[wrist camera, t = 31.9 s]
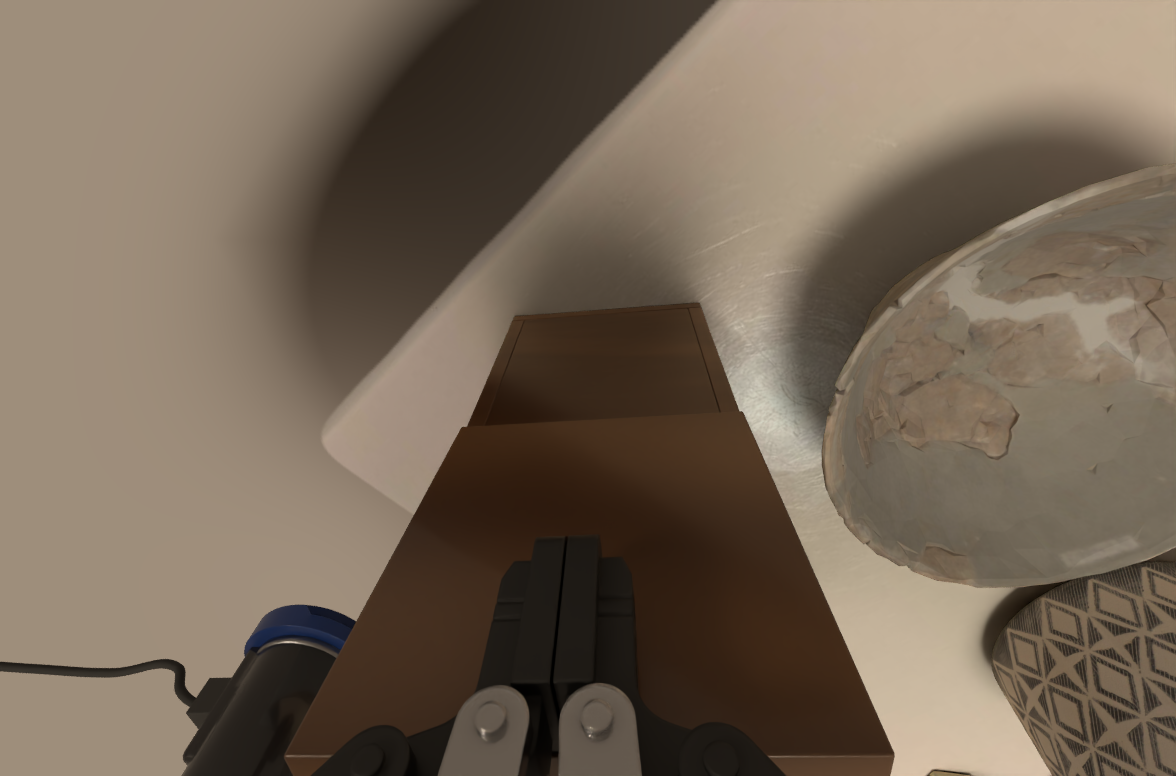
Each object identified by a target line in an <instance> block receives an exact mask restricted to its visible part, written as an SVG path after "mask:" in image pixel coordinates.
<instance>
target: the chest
mask: <svg viewBox="0 0 1176 776" xmlns="http://www.w3.org/2000/svg"><path fill="white" fill-rule="evenodd" d="M722 412H740V411H739V409H738V406H737V403H736V401H735V398H734V395H733V392H732V390H731V387H730V384H729V382H728V379H727V376H726V373H725V371H724V368H723V365H722V363H721V360H720V357H719V355H718V352H717V349H716V346H715V344H714V341H713V338H712V336H711V333H710V330H709V327H708V325H707V322H706V319H705V317H704V314H703V311H702V308H701V306H700V303H687V304H673V305H660V306H646V307H633V308H619V309H606V310H592V311H579V312H565V313H552V314H538V315H525V316H515V317H514V318H513V321H512V323H511V325H510V328H509V330H508V332H507V335H506V337H505V339H504V342H503V344H502V346H501V349H500V351H499V353H498V356H497V358H496V360H495V363H494V365H493V367H492V370H491V372H490V374H489V377H488V379H487V381H486V384H485V386H484V388H483V391H482V393H481V395H480V398H479V400H478V402H477V405H476V407H475V409H474V412H473V414H472V416H471V419H470V421H469V423H468V426H467V427H475V426H492V425H510V424H528V423H545V422H563V421H581V420H598V419H616V418H634V417H651V416H669V415H687V414H704V413H722Z"/></svg>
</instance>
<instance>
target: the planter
mask: <svg viewBox="0 0 1176 776" xmlns="http://www.w3.org/2000/svg"><path fill="white" fill-rule="evenodd" d="M992 670H993V674H994V677H995V679H996V681H997V683H998V685H999V686H1000V688H1001V690H1002V691H1003V693H1004V695H1005V696H1006V698H1007V700H1008V702H1009V703H1010V705H1011V707H1012V708H1013V710H1014V712H1015V713H1016V715H1017V717H1018V718H1019V720H1020V722H1021V723H1022V725H1023V727H1024V728H1025V730H1026V732H1027V734H1028V735H1029V737H1030V739H1031V740H1032V742H1033V744H1034V745H1035V747H1036V749H1037V750H1038V752H1039V754H1040V755H1041V757H1042V759H1043V760H1044V762H1045V764H1046V766H1047V767H1048V769H1049V771H1050V772H1051V774H1052V776H1176V562H1145V563H1136V564H1132V565H1129V566H1125V567H1122V568H1119V569H1115V570H1112V571H1109V572H1106V573H1102V574H1096V575H1090V576H1084V577H1080V578H1076V579H1074V580H1071V581H1069V582H1067V583H1064V584H1062V585H1060V586H1058V587H1056V588H1054V589H1052V590H1050V591H1048V592H1046V593H1045V594H1043V595H1041V596H1040V597H1038V598H1037V599H1035V600H1034V601H1032V602H1031V603H1029V604H1028V605H1027V606H1025V607H1024V608H1023V609H1022V610H1020V611H1019V612H1018V613H1017V614H1016V615H1015V616H1014V617H1013V618H1012V619H1011V620H1010V621H1009V622H1008V623H1007V624H1006V626H1005V627H1004V628H1003V630H1002V631H1001V633H1000V634H999V636H998V638H997V640H996V642H995V645H994V648H993V652H992Z"/></svg>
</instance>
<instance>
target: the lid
mask: <svg viewBox="0 0 1176 776" xmlns="http://www.w3.org/2000/svg"><path fill="white" fill-rule="evenodd" d="M591 534H599V535H600V540H601V548H602V556H603V557H623V559H624V561H625V562H626V564H627V566H628V568H629V570H630V571H631V573H632V580H633V592H634V603H635V614H636V636H637V661H638V686H639V695H640V697H641V699H642V701H643V702H644V704H645V705H646V706H647V707H648V708H649V710H650V711H652V712H653V713H654V714H655V715H657V716H658V717H660V718H661V719H663V720H666V721H668V722H670V723H673V724H676V725H679V726H682V727H685V728H688V729H691V730H693V729H694V728H695V727H697V726H699V725H701V724H704V723H708V722H722V723H726V724H730V725H732V726H734V727H736V728H738V729H739V730H741V731H742V732H744V733H745V734H746V735H747V736H748V737H749V738H750V739H751V740H752V741H753V742H754V743H755V744H756V745H757V746H758V747H759V748H760V749H761V750H762V751H763V752H764V753H765V754H766V755H767V756H768V757H769V758H770V759H771V760H772V761H773V762H774V763H775V764H776V765H777V766H778V767H779V768H780V769H781V771H782V772H783V773H784V774H785V775H786V776H890V774H891V770H892V765H893V761H894V752H893V749H892V747H891V745H890V742H889V740H888V738H887V736H886V733H885V731H884V729H883V727H882V724H881V722H880V720H879V718H878V715H877V713H876V711H875V709H874V706H873V704H872V702H871V700H870V697H869V695H868V693H867V691H866V688H865V686H864V684H863V682H862V679H861V677H860V675H859V673H858V670H857V668H856V666H855V664H854V661H853V659H852V657H851V655H850V652H849V650H848V648H847V645H846V643H845V641H844V639H843V636H842V634H841V632H840V630H839V627H838V625H837V623H836V621H835V618H834V616H833V614H832V612H831V609H830V607H829V605H828V603H827V600H826V598H825V596H824V594H823V591H822V589H821V587H820V585H819V582H818V580H817V578H816V576H815V573H814V571H813V569H812V567H811V564H810V562H809V560H808V557H807V555H806V553H805V551H804V548H803V546H802V544H801V542H800V539H799V537H798V535H797V533H796V530H795V528H794V526H793V524H792V521H791V519H790V517H789V515H788V512H787V510H786V508H785V506H784V503H783V501H782V499H781V497H780V494H779V492H778V490H777V488H776V485H775V483H774V481H773V479H772V476H771V474H770V472H769V469H768V467H767V465H766V463H765V460H764V458H763V456H762V454H761V451H760V449H759V447H758V445H757V442H756V440H755V438H754V436H753V433H752V431H751V429H750V427H749V424H748V422H747V420H746V418H745V415H744V413H743V412H742V411H740V412H722V413H704V414H687V415H669V416H651V417H634V418H616V419H598V420H581V421H563V422H545V423H528V424H510V425H492V426H475V427H462V428H461V429H460V431H459V433H458V435H457V437H456V438H455V440H454V442H453V444H452V446H451V448H450V450H449V451H448V453H447V455H446V457H445V459H444V461H443V462H442V464H441V466H440V468H439V470H438V472H437V474H436V475H435V477H434V479H433V481H432V483H431V485H430V486H429V488H428V490H427V492H426V494H425V496H424V498H423V499H422V501H421V503H420V505H419V507H418V509H417V511H416V512H415V514H414V516H413V518H412V520H411V522H410V523H409V525H408V527H407V529H406V531H405V533H404V535H403V536H402V538H401V540H400V542H399V544H398V546H397V548H396V549H395V551H394V553H393V555H392V557H391V559H390V560H389V562H388V564H387V566H386V568H385V570H384V572H383V574H382V575H381V577H380V579H379V581H378V583H377V584H376V586H375V588H374V590H373V592H372V594H371V595H370V597H369V599H368V601H367V603H366V605H365V607H364V608H363V610H362V612H361V614H360V616H359V618H358V619H357V621H356V623H355V625H354V627H353V629H352V631H351V632H350V634H349V636H348V638H347V640H346V642H345V644H344V645H343V647H342V649H341V651H340V653H339V655H338V656H337V658H336V660H335V662H334V664H333V666H332V668H331V669H330V671H329V673H328V675H327V677H326V679H325V680H324V682H323V684H322V686H321V688H320V690H319V692H318V693H317V695H316V697H315V699H314V701H313V703H312V704H311V706H310V708H309V710H308V712H307V714H306V716H305V717H304V719H303V721H302V723H301V725H300V727H299V728H298V730H297V732H296V734H295V736H294V738H293V740H292V741H291V743H290V745H289V747H288V749H287V751H286V752H285V755H284V759H285V761H286V763H287V765H288V767H289V768H290V770H291V772H292V774H293V776H311V775H312V774H313V773H314V772H315V771H316V770H317V769H318V768H319V767H320V766H322V765H323V764H324V763H325V762H326V761H327V760H328V759H329V758H330V757H332V756H333V755H334V754H335V753H336V752H337V751H338V750H339V749H340V748H341V747H343V746H344V745H345V744H346V743H347V742H348V741H349V740H350V739H352V738H353V737H354V736H355V735H357V734H358V733H360V732H361V731H363V730H365V729H368V728H370V727H373V726H377V725H390V726H394V727H396V728H398V729H400V730H401V731H402V732H403V733H404V735H405V736H406V737H408V736H411V735H414V734H416V733H419V732H422V731H425V730H428V729H430V728H433V727H436V726H438V725H441V724H443V723H445V722H447V721H449V720H450V719H452V718H453V717H454V716H456V715H457V714H458V712H459V710H460V709H461V707H462V706H463V704H464V703H465V702H466V701H467V700H468V699H469V698H470V697H471V696H472V695H473V694H474V692H475V690H476V687H477V684H478V680H479V676H480V671H481V667H482V662H483V658H484V653H485V649H486V645H487V640H488V636H489V631H490V627H491V623H492V621H493V614H494V609H495V605H496V604H497V596H498V592H499V587H500V583H501V579H502V578H503V576H504V575H505V573H506V572H507V570H508V569H509V568H510V566H511V565H512V563H513V562H514V561H528V560H531V558H532V553H533V547H534V542H535V539H536V537H550V536H567V537H568V536H569V535H591ZM558 763H559V753H552V756H551V767H550V776H558Z"/></svg>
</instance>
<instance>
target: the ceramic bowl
mask: <svg viewBox="0 0 1176 776" xmlns="http://www.w3.org/2000/svg"><path fill="white" fill-rule="evenodd" d="M835 386H836V387H837V390H836V392H835V395H834V397H833V400H832V402H831V404H830V407H829V413H828V415H827V422H826V429H825V433H824V439H823V446H822V468H823V474H824V480H825V486H826V489H827V491H828V493H829V496H830V499H831V500H832V502H833V504H834V506H835V508H836V510H837V512H838V515H839V516H841V517H842V518H843V519H844V523H845V525H846V526H847V528H848V529H849V530H850V531H851V532H852V533H853V534H854V535H855V536H856V537H857V538H858V539H859V540H860V541H861V542H862V543H863V544H865V543H866V544H867V545H868V546H869V547H870V548H871V549H872V550H873V551H874V552H875V553H876V554H878V555H880V556H882V557H885V558H887V559H889V560H890V561H892V562H894V563H895V564H897V565H899V566H905V565H907V566H908V568H910V569H911V570H912V571H913V572H916V573H918V574H921V575H923V576H926V577H929V578H931V579H934V580H937V581H944V582H953V583H959V584H964V585H969V586H973V587H976V588H997V587H1027V586H1032V585H1043V584H1051V583H1056V582H1062V581H1067V580H1072V579H1076V578H1080V577H1084V576H1090V575H1096V574H1102V573H1106V572H1109V571H1112V570H1115V569H1119V568H1122V567H1125V566H1129V565H1132V564H1136V563H1139V562H1143V561H1146V560H1149V559H1151V558H1154V557H1156V556H1158V555H1161V554H1163V553H1165V552H1167V551H1169V550H1172V549H1174V548H1176V163H1175V164H1168V165H1161V166H1154V167H1147V168H1144V169H1141V170H1137V171H1134V172H1131V173H1128V174H1125V175H1121V176H1118V177H1115V178H1111V179H1108V180H1105V181H1101V182H1098V183H1094V184H1091V185H1088V186H1085V187H1083V188H1081V189H1078V190H1076V191H1073V192H1071V193H1069V194H1066V195H1064V196H1061V197H1059V198H1056V199H1054V200H1052V201H1049V202H1047V203H1045V204H1042V205H1040V206H1038V207H1036V208H1034V209H1031V210H1029V211H1027V212H1025V213H1022V214H1020V215H1018V216H1016V217H1014V218H1011V219H1009V220H1007V221H1005V222H1002V223H1000V224H999V225H997V226H995V227H993V228H991V229H989V230H987V231H985V232H983V233H982V234H980V235H978V236H977V237H975V238H973V239H971V240H970V241H968V242H966V243H964V244H963V245H961V246H959V247H957V248H955V249H953V250H950V251H948V252H946V253H943V254H941V255H938V256H936V257H934V258H933V259H931V260H929V261H928V262H926V263H924V264H923V265H921V266H919V267H918V268H917V269H915V270H914V271H912V272H911V273H909V274H908V275H907V276H905V277H904V278H903V279H902V280H901V281H899V282H898V283H897V284H896V285H895V286H893V287H892V288H891V289H890V291H889V292H888V293H887V294H886V296H885V297H884V298H883V299H882V301H881V302H880V303H879V304H878V305H877V306H876V307H875V308H874V309H873V310H872V312H871V313H870V316H869V318H868V321H867V323H866V327H865V330H864V333H863V335H862V336H861V338H860V339H859V340H858V342H857V343H856V344H855V346H854V347H853V349H852V351H851V353H850V355H849V357H848V359H847V361H846V363H845V365H844V367H843V369H842V371H841V373H840V375H839V377H838V379H837V381H836V383H835Z"/></svg>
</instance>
